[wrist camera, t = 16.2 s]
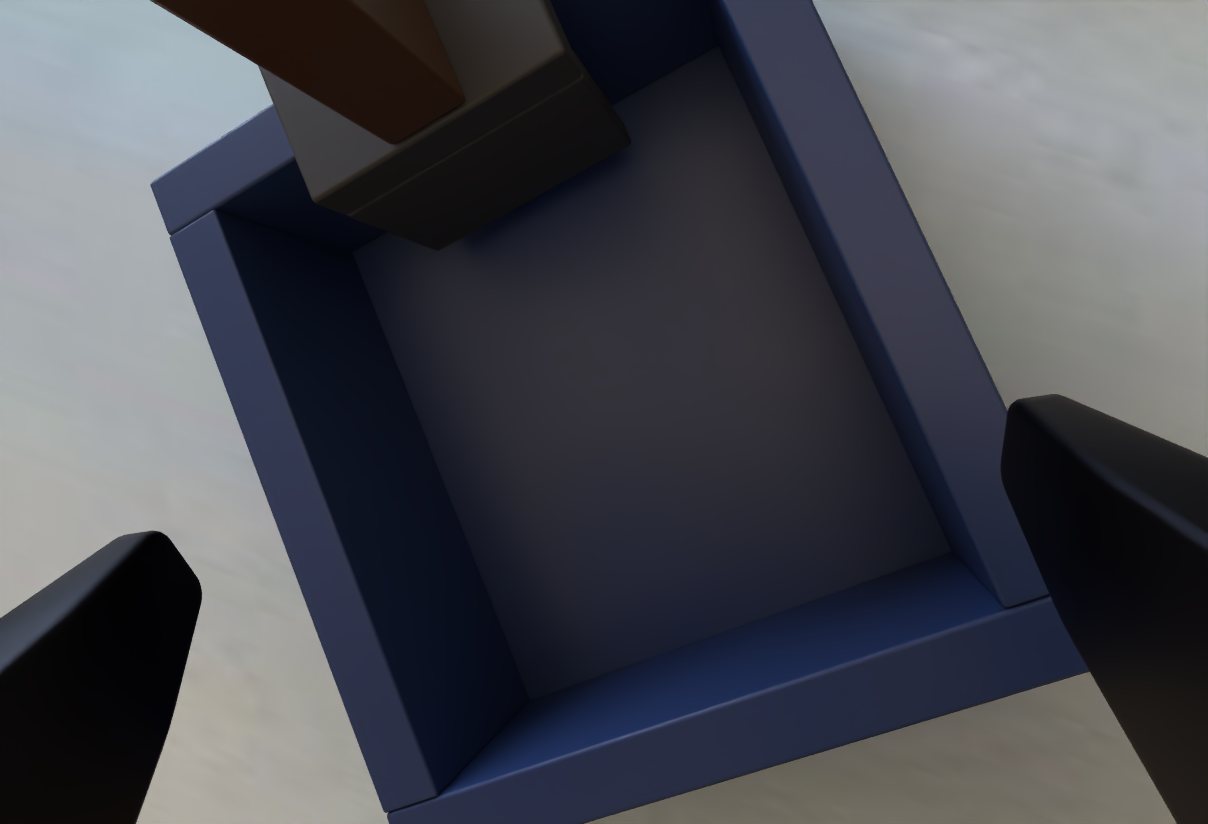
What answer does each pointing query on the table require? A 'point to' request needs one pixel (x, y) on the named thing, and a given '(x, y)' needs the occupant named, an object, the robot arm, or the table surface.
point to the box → (627, 440)
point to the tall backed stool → (421, 103)
